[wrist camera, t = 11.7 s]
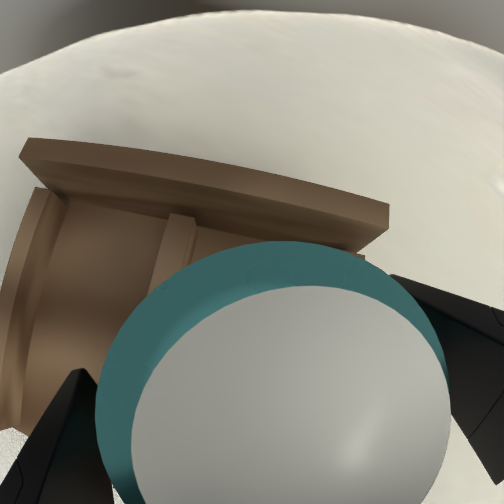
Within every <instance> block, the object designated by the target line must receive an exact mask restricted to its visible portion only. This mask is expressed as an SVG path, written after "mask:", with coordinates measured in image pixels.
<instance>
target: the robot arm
mask: <svg viewBox="0 0 504 504" xmlns="http://www.w3.org/2000/svg"><path fill="white" fill-rule="evenodd" d="M389 276H390V277H392V278H393V279H394V280H395V281H397V282H398V283H399V284H400V285H401V286H402V287H403V288H404V289H405V290H406V291H407V292H408V293H409V294H410V295H411V296H412V297H413V298H414V299H415V301H416V302H417V303H418V305H419V306H420V307H421V309H422V310H423V311H424V313H425V314H426V316H427V318H428V319H429V321H430V323H431V325H432V327H433V328H434V330H435V332H436V335H437V337H438V340H439V342H440V345H441V347H442V350H443V353H444V357H445V361H446V366H447V370H448V378H449V387H450V409H451V415H452V416H453V418H454V419H455V421H456V422H457V424H458V425H459V427H460V428H461V430H462V432H463V433H464V435H465V436H466V438H467V439H468V441H469V443H470V444H471V446H472V448H473V449H474V451H475V452H476V454H477V456H478V457H479V459H480V461H481V462H482V464H483V466H484V467H485V469H486V471H487V472H488V474H489V476H490V477H491V479H492V481H493V482H494V484H495V485H497V484H499V483H500V482H501V481H503V480H504V311H502V310H499V309H496V308H494V307H490V306H488V305H485V304H482V303H479V302H476V301H473V300H470V299H467V298H464V297H461V296H458V295H455V294H452V293H449V292H446V291H443V290H440V289H437V288H434V287H431V286H428V285H425V284H422V283H419V282H416V281H413V280H410V279H407V278H404V277H400V276H397V275H394V274H391V275H389ZM97 388H98V385H97V384H96V382H95V381H94V380H93V378H92V377H91V375H90V374H89V373H88V371H87V370H86V369H85V368H79V369H74V370H72V371H71V372H70V373H69V375H68V376H67V378H66V379H65V381H64V382H63V384H62V385H61V387H60V388H59V390H58V391H57V393H56V394H55V396H54V397H53V399H52V400H51V402H50V403H49V405H48V407H47V408H46V410H45V411H44V413H43V414H42V416H41V418H40V419H39V421H38V423H37V424H36V426H35V427H34V429H33V431H32V432H31V434H30V436H29V437H28V439H27V441H26V442H25V444H24V446H23V447H22V449H21V451H20V453H19V454H18V456H17V459H15V461H14V463H13V465H12V466H11V468H10V470H9V472H8V473H7V475H6V477H5V478H4V480H3V482H2V483H1V485H0V504H114V498H113V490H112V483H111V480H110V478H109V476H108V473H107V471H106V469H105V466H104V464H103V461H102V457H101V453H100V449H99V446H98V442H97V434H96V424H95V406H96V393H97Z"/></svg>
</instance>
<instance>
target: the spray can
mask: <svg viewBox="0 0 504 504" xmlns="http://www.w3.org/2000/svg"><path fill="white" fill-rule="evenodd" d="M450 421H451V409H450V387H449V378H448V370H447V366H446V361H445V357H444V353H443V350H442V347H441V345H440V342H439V340H438V337H437V335H436V332H435V330H434V328H433V327H432V325H431V323H430V321H429V319H428V318H427V316H426V314H425V313H424V311H423V310H422V309H421V307H420V306H419V305H418V303H417V302H416V301H415V299H414V298H413V297H412V296H411V295H410V294H409V293H408V292H407V291H406V290H405V289H404V288H403V287H402V286H401V285H400V284H399V283H398V282H397V281H395V280H394V279H393V278H392V277H390V276H389V275H388V274H386V273H385V272H384V271H382V270H381V269H379V268H378V267H376V266H374V265H372V264H371V263H369V262H367V261H365V260H364V259H362V258H359V257H357V256H354V255H352V254H350V253H347V252H345V251H342V250H339V249H335V248H331V247H327V246H324V245H320V244H313V243H305V242H297V241H268V242H261V243H253V244H246V245H242V246H238V247H234V248H231V249H227V250H223V251H220V252H217V253H215V254H212V255H210V256H208V257H205V258H203V259H200V260H198V261H196V262H194V263H192V264H191V265H189V266H187V267H185V268H184V269H182V270H180V271H178V272H177V273H175V274H173V275H172V276H171V277H169V278H168V279H167V280H166V281H164V282H163V283H162V284H160V285H159V286H158V287H156V288H155V289H154V290H153V291H152V292H151V293H150V294H149V295H148V296H147V297H146V298H145V299H144V300H143V301H142V302H141V303H140V304H139V305H138V306H137V307H136V308H135V309H134V311H133V312H132V313H131V315H130V316H129V317H128V319H127V320H126V321H125V323H124V324H123V325H122V327H121V328H120V330H119V332H118V334H117V336H116V337H115V339H114V341H113V343H112V345H111V347H110V349H109V351H108V354H107V356H106V359H105V362H104V364H103V367H102V370H101V373H100V378H99V383H98V388H97V393H96V406H95V424H96V434H97V442H98V446H99V449H100V453H101V457H102V461H103V464H104V466H105V469H106V471H107V473H108V476H109V478H110V480H111V482H112V484H113V486H114V488H115V489H116V491H117V493H118V494H119V496H120V497H121V499H122V500H123V502H124V503H125V504H421V502H422V501H423V500H424V498H425V497H426V495H427V494H428V492H429V490H430V489H431V487H432V485H433V483H434V481H435V479H436V477H437V475H438V473H439V470H440V468H441V466H442V463H443V459H444V456H445V453H446V450H447V445H448V439H449V434H450Z"/></svg>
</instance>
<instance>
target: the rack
mask: <svg viewBox="0 0 504 504" xmlns="http://www.w3.org/2000/svg"><path fill="white" fill-rule="evenodd" d="M19 158H20V159H21V160H22V162H23V163H24V164H25V165H26V166H27V167H28V168H29V169H30V170H31V171H32V172H33V174H34V175H35V176H36V177H37V178H38V179H39V180H40V181H41V182H42V183H43V184H44V185H45V186H46V187H47V188H48V189H43V188H38V187H35V189H34V192H33V194H32V196H31V199H30V201H29V204H28V206H27V209H26V212H25V214H24V217H23V220H22V222H21V225H20V228H19V231H18V233H17V236H16V239H15V242H14V245H13V249H12V252H11V255H10V258H9V262H8V265H7V268H6V272H5V276H4V279H3V283H2V287H1V291H0V431H1V430H4V429H8V428H11V427H13V428H15V429H16V430H18V431H20V432H22V433H23V434H25V435H27V436H30V434H31V432H32V431H33V429H34V427H35V426H36V424H37V423H38V421H39V419H40V418H41V416H42V414H43V413H44V411H45V410H46V408H47V407H48V405H49V403H50V402H51V400H52V399H53V397H54V396H55V394H56V393H57V391H58V390H59V388H60V387H61V385H62V384H63V382H64V381H65V379H66V378H67V376H68V375H69V373H70V372H71V371H72V370H74V369H79V368H85V369H86V370H87V371H88V373H89V374H90V375H91V377H92V378H93V380H94V381H95V382H96V384H97V385H98V383H99V378H100V373H101V370H102V367H103V364H104V362H105V359H106V356H107V354H108V351H109V349H110V347H111V345H112V343H113V341H114V339H115V337H116V336H117V334H118V332H119V330H120V328H121V327H122V325H123V324H124V323H125V321H126V320H127V319H128V317H129V316H130V315H131V313H132V312H133V311H134V309H135V308H136V307H137V306H138V305H139V304H140V303H141V302H142V301H143V300H144V299H145V298H146V297H147V296H148V295H149V294H150V293H151V292H152V291H153V290H154V289H155V288H156V287H158V286H159V285H160V284H162V283H163V282H164V281H166V280H167V279H168V278H169V277H171V276H172V275H173V274H175V273H177V272H178V271H180V270H182V269H184V268H185V267H187V266H189V265H191V264H192V263H194V262H196V261H198V260H200V259H203V258H205V257H208V256H210V255H212V254H215V253H217V252H220V251H223V250H227V249H231V248H234V247H238V246H242V245H246V244H253V243H261V242H268V241H297V242H305V243H313V244H320V245H324V246H327V247H331V248H335V249H339V250H342V251H345V252H347V253H350V254H352V255H354V256H357V257H359V258H362V259H364V260H365V255H361V254H357V252H358V251H360V250H361V249H362V248H364V247H365V246H366V245H368V244H369V243H370V242H372V241H373V240H374V239H376V238H377V237H378V236H380V235H381V234H382V233H384V232H385V231H386V230H388V229H389V204H387V203H384V202H381V201H377V200H374V199H370V198H367V197H363V196H360V195H356V194H353V193H349V192H345V191H341V190H338V189H334V188H330V187H326V186H322V185H318V184H314V183H310V182H306V181H302V180H298V179H294V178H290V177H285V176H281V175H277V174H272V173H268V172H263V171H259V170H254V169H249V168H244V167H240V166H235V165H230V164H224V163H219V162H214V161H209V160H203V159H198V158H192V157H186V156H181V155H174V154H168V153H162V152H156V151H149V150H142V149H135V148H128V147H120V146H112V145H104V144H96V143H87V142H77V141H67V140H56V139H43V138H28V139H27V141H26V143H25V145H24V147H23V149H22V151H21V153H20V155H19ZM113 488H114V486H113Z"/></svg>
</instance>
